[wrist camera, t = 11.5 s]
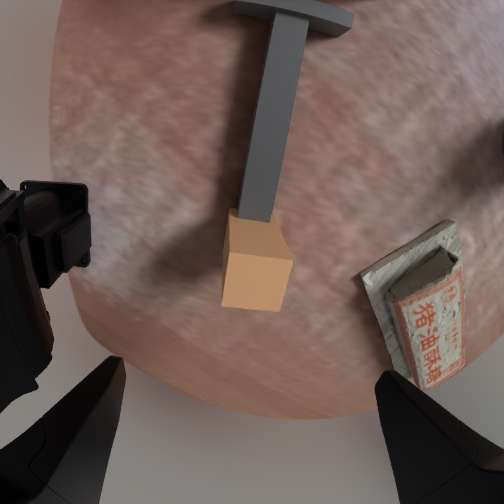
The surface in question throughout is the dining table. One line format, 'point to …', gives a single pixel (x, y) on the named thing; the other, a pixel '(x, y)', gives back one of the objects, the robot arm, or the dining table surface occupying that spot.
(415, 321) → the packaged product
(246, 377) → the dining table surface
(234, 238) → the scraper
